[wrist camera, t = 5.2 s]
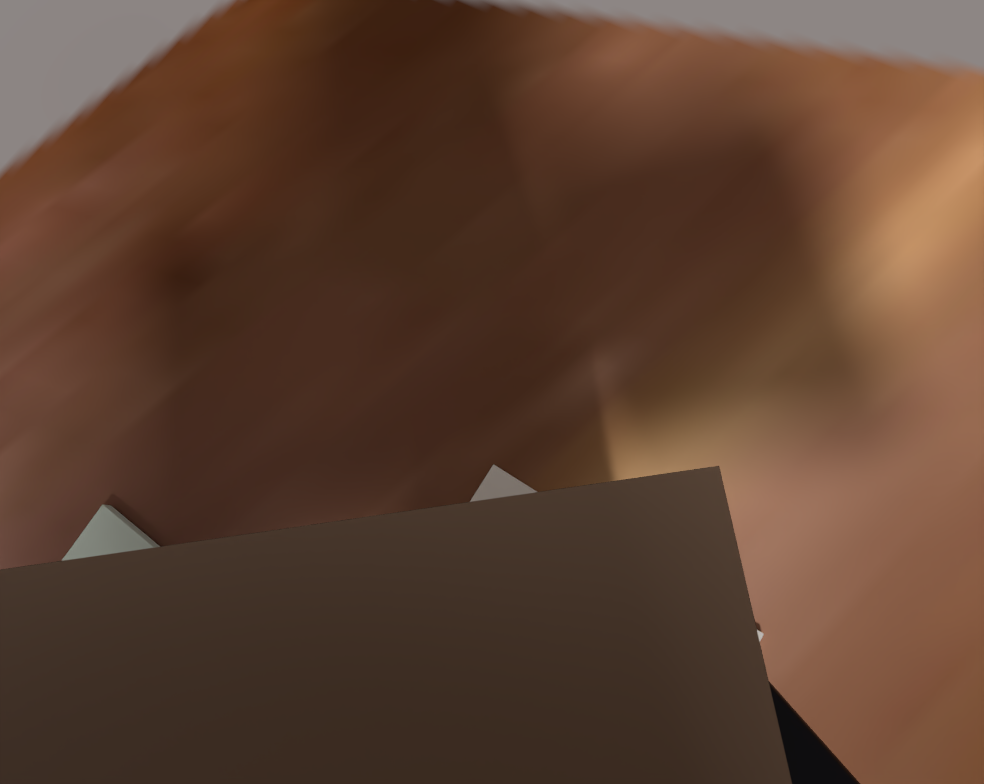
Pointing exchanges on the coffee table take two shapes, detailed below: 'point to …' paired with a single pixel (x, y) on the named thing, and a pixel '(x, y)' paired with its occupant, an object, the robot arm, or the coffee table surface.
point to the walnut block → (403, 650)
